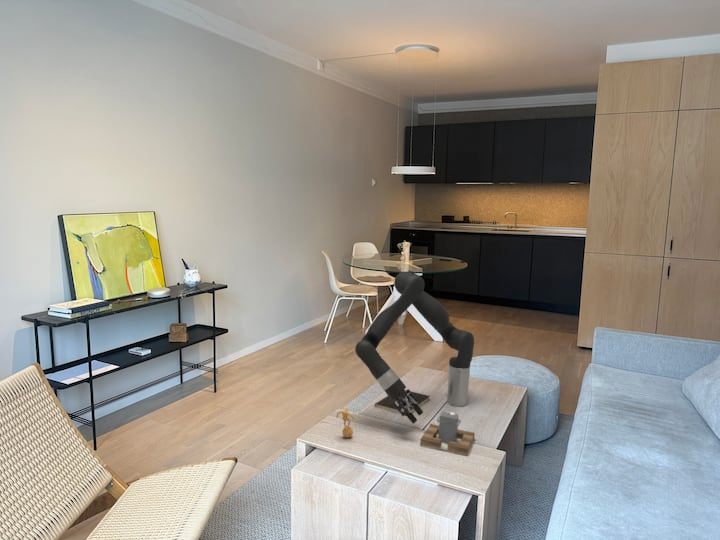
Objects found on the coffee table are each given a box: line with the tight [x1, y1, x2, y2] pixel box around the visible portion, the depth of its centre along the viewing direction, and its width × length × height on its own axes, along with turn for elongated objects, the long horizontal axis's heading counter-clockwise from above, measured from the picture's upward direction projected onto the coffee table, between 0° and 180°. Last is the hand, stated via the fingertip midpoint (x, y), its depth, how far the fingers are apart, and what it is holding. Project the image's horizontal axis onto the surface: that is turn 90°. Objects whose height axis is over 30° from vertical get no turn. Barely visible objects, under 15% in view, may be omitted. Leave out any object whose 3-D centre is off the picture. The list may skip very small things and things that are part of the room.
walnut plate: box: [419, 423, 476, 457], centre depth 190 cm, size 15×17×3 cm
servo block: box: [436, 411, 462, 444], centre depth 189 cm, size 4×8×11 cm, turn 68°
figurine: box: [336, 407, 357, 438], centre depth 189 cm, size 8×6×12 cm
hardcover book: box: [374, 389, 431, 415], centre depth 227 cm, size 16×23×2 cm
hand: (418, 418), depth 193 cm, fingers open, 8 cm apart
